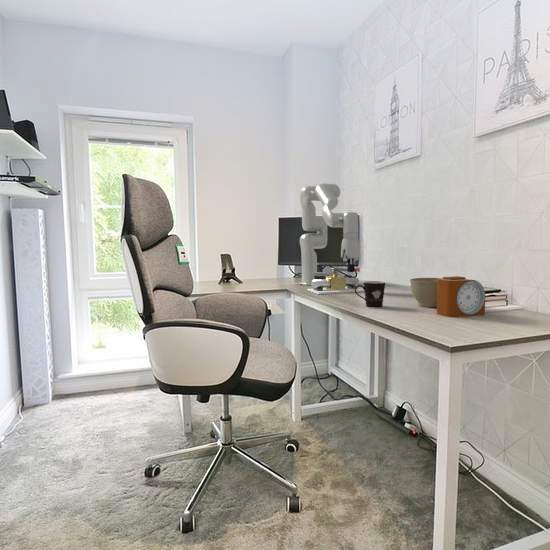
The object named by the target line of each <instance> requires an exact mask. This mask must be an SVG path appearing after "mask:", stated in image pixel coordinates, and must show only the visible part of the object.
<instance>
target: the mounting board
mask: <svg viewBox="0 0 550 550" xmlns="http://www.w3.org/2000/svg"><path fill="white" fill-rule="evenodd" d="M307 290H308V292H309V291H311V292H310V293H312V292H314V293H313V294H315V293H317V294H316V295H318V294H320V295H332V294H333V295H334V294H335V293H336V294H349V293H355V289H350V288H347V286H346V287H345V290H328V289H326V288H323V291H316V290H313V288H307V289H306V291H307ZM356 292H357V293H365V291H364V289H363V288H360V287H358V288H357V289H356Z"/></svg>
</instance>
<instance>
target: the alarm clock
mask: <svg viewBox="0 0 550 550" xmlns="http://www.w3.org/2000/svg"><path fill="white" fill-rule="evenodd" d="M439 278H440V279H438V285H437V307H436V314H437V315H440V316H443V315H444V317H447V316H448V317H449V318H458V317H459V316H461V317H472V316H481V315H482V316H485V313H486V291H485V288H484V286H483V284H482V283H481V282H480V281H477V280H475V279H468V278H466V276H458V275H457V276H443V277H439Z"/></svg>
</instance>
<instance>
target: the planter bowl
mask: <svg viewBox="0 0 550 550" xmlns="http://www.w3.org/2000/svg"><path fill="white" fill-rule="evenodd" d="M440 278H441V277H416V278H410V279H409V281H410V289H411V292H412V295H413V297H414V299H415V300H416V301H417V304H418V306H420V307H425V308H437V285H438V279H440Z"/></svg>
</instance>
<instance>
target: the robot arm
mask: <svg viewBox="0 0 550 550" xmlns="http://www.w3.org/2000/svg"><path fill="white" fill-rule="evenodd" d="M340 195H341V188H340V187H339V185H338V184H335V183H319V184H318V185H316V186H314V185H313V186H312V185H311V186H310V185H309V186H308V185H307V186H304V187H302V189H300V192H299V202H300V205H301V226H302V229H303V231H306V232H311V233H304V234H302V235H301V236H300V237H299V246H300V253H301V255H300V256H301V281H299V282H298V283H299V285H300V284H302V285H303V286H311V281H312V280H315V279H314V275H315V273H316V272H318V256H317V253H316V251H315V250H316V249H318V250H321V249H324V248H326V247H327V246H328V227H330V228H342V233H343V239H342V240H341V247H340V258H341V259H342V260H343V262H346V265H347V268H346V269H348V271H347V273H354V268H355V264H356V262H357V261H358V260H359V258H360V253H361V252H360V251H361V250H360V241H359V213H358V212H355V211H349V212H348V211H347V212H333V211H332V210H334V209H335V208H336V207H337V206H338V204H339V197H340ZM313 201H315V202H320V203H321V205H322V210H321V211H322V212H321V215H317V213H316V211H317V209H316V205H315V204H314V203H313ZM314 232H317V233H314ZM302 285H301V286H302Z"/></svg>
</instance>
